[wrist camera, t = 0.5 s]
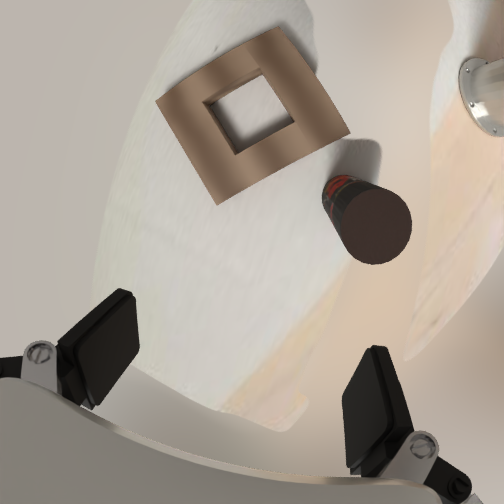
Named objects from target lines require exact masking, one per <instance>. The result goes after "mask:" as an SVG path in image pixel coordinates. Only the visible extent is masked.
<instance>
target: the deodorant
mask: <svg viewBox="0 0 504 504" xmlns="http://www.w3.org/2000/svg"><path fill="white" fill-rule="evenodd" d="M322 203H323V206H324V209H325V211H326V212H327V214H328V216H329V218H330V220H331V222H332V223H333V225H334V227H335V229H336V231H337V233H338V235H339V236H340V238H341V240H342V242H343V244H344V246H345V247H346V249H347V251H348V252H349V253H350V254H351V255H352V256H353V257H354V258H355V259H357V260H359V261H361V262H363V263H367V264H371V265H374V264H382V263H385V262H389V261H391V260H392V259H394V258H395V257H397V256H398V255H399V254H400V253H401V252H402V251H403V249H404V248H405V247H406V245H407V243H408V241H409V239H410V235H411V231H412V220H411V214H410V211H409V209H408V207H407V205H406V203H405V202H404V201H403V200H402V199H401V198H400V197H399V196H398V195H397V194H395V193H393V192H392V191H389V190H387V189H384V188H382V187H379V186H377V185H374V184H371V183H369V182H366V181H363V180H360V179H358V178H355V177H352V176H348V175H340V176H337V177H334V178H333V179H331V180H330V181H329V182H328V183H327V184H326V185H325V187H324V190H323V193H322Z"/></svg>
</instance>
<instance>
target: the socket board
mask: <svg viewBox="0 0 504 504" xmlns="http://www.w3.org/2000/svg"><path fill="white" fill-rule="evenodd" d="M262 74H263V76H264V77H265V78H266V80H267V81H268V83H269V84H270V86H271V87H272V89H273V90H274V92H275V93H276V95H277V96H278V98H279V99H280V101H281V102H282V104H283V106H284V107H285V109H286V110H287V112H288V113H289V115H290V117H291V118H292V120H293V122H294V123H292V124H290V125H288V126H287V127H285V128H283V129H281V130H279V131H277V132H275V133H274V134H272V135H270V136H268V137H266V138H265V139H263V140H261V141H259V142H257V143H256V144H254V145H252V146H251V147H249V148H247V149H245V150H244V151H242V152H240V153H238V152H237V150H236V148H235V147H234V145H233V143H232V142H231V140H230V138H229V137H228V135H227V133H226V132H225V130H224V129H223V127H222V125H221V124H220V122H219V120H218V119H217V117H216V116H215V114H214V112H213V111H212V109H211V108H210V106H209V105H211V104H213V103H214V102H216V101H217V100H219V99H220V98H222V97H224V96H225V95H227V94H229V93H230V92H232V91H234V90H235V89H237V88H239V87H241V86H242V85H244V84H246V83H248V82H249V81H251V80H253V79H255V78H257V77H258V76H260V75H262ZM155 102H156V104H157V105H158V107H159V109H160V110H161V112H162V114H163V116H164V117H165V119H166V121H167V122H168V124H169V126H170V127H171V129H172V131H173V133H174V134H175V136H176V138H177V139H178V141H179V143H180V144H181V146H182V148H183V149H184V151H185V153H186V155H187V156H188V158H189V160H190V161H191V163H192V165H193V166H194V168H195V170H196V171H197V173H198V175H199V176H200V178H201V180H202V182H203V183H204V185H205V187H206V188H207V190H208V192H209V193H210V195H211V197H212V198H213V200H214V202H215V203H216V205H219V204H220V203H222V202H224V201H225V200H227V199H229V198H231V197H232V196H234V195H236V194H237V193H239V192H241V191H243V190H244V189H246V188H248V187H250V186H251V185H253V184H255V183H257V182H258V181H260V180H262V179H264V178H266V177H267V176H269V175H271V174H273V173H275V172H277V171H278V170H280V169H282V168H284V167H286V166H288V165H289V164H291V163H293V162H295V161H297V160H299V159H301V158H303V157H305V156H307V155H308V154H310V153H312V152H314V151H316V150H318V149H320V148H322V147H324V146H326V145H328V144H330V143H332V142H334V141H336V140H338V139H340V138H342V137H344V136H346V135H348V134H350V131H349V129H348V127H347V126H346V124H345V122H344V120H343V119H342V117H341V115H340V114H339V112H338V110H337V109H336V107H335V105H334V103H333V102H332V100H331V99H330V97H329V95H328V94H327V92H326V91H325V89H324V88H323V86H322V85H321V83H320V82H319V80H318V79H317V77H316V76H315V74H314V73H313V71H312V70H311V68H310V67H309V66H308V64H307V63H306V61H305V60H304V59H303V57H302V56H301V55H300V53H299V52H298V50H297V49H296V48H295V47H294V45H293V44H292V43H291V41H290V40H289V39H288V38H287V36H286V35H285V34H284V33H283V31H282V30H281V29H280V28H279V26H278V27H276V28H274V29H272V30H269V31H267V32H265V33H263V34H261V35H259V36H257V37H255V38H253V39H251V40H249V41H247V42H245V43H244V44H242V45H240V46H238V47H236V48H234V49H233V50H231V51H229V52H227V53H226V54H224V55H222V56H220V57H219V58H217V59H215V60H214V61H212V62H211V63H209V64H207V65H206V66H204V67H203V68H201V69H200V70H198V71H197V72H195V73H194V74H192V75H191V76H189V77H188V78H186V79H185V80H183V81H182V82H180V83H179V84H178V85H176V86H175V87H173V88H172V89H171V90H169V91H168V92H167V93H165V94H164V95H163V96H161V97H160V98H159V99H157V100H156V101H155Z"/></svg>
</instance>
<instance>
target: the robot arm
mask: <svg viewBox="0 0 504 504" xmlns="http://www.w3.org/2000/svg"><path fill="white" fill-rule="evenodd" d="M459 86H460V91H461V95H462V99H463V102H464V104H465V106H466V109H467V110H468V112H469V114H470V116H471V117H472V119H473V120H474V122H475V123H476V124H477V125H478V126H479V127H480V128H481V129H482V130H483V131H484V132H485V133H487V134H489V135H491V136H494V137H504V58H502V59H499V60H497V61H494V62H491V63H490V62H488V61H486V60H484V59H481V58H472V59H470V60H468V61H466V62H465V63H464V64H463V66H462V67H461V70H460V75H459ZM139 348H140V344H139V334H138V323H137V311H136V298H135V297H134V296H133V294H132V292H130V291H127V290H124V289H121V288H118V289H117V290H115V291H114V292H113V293H112V294H111V295H110V296H108V297H107V298H106V299H105V300H104V301H102V302H101V303H100V304H99V305H98V306H97V307H95V308H94V309H93V310H92V311H91V312H90V313H88V314H87V315H86V316H85V317H84V318H83V319H82V320H80V321H79V322H78V323H77V324H76V325H75V326H74V327H73V328H71V329H70V330H69V331H68V332H67V333H66V334H65V335H64V336H63V337H61V338H60V339H59V340H58V344H57V345H56V346H54V345H53V344H52V343H51V342H48V341H35V342H33V343H31V344H30V345H28V347H27V348H26V349H25V351H24V354H23V356H16V357H6V358H0V504H483V503H482V501H481V500H480V499H479V498H478V496H477V495H476V494H475V493H474V494H473V495H471V490H472V484H471V480H470V479H469V477H468V476H466V474H464V473H463V472H461V471H459V470H458V469H456V468H455V467H454V466H452V465H451V464H449V463H448V462H446V461H445V460H443V459H442V458H440V457H439V456H438V452H439V445H438V442H437V440H436V439H435V437H433V436H432V435H431V434H430V433H428V432H425V431H415V432H414V428H413V424H412V421H411V417H410V414H409V410H408V407H407V404H406V400H405V397H404V394H403V391H402V388H401V384H400V382H399V380H398V377H397V374H396V371H395V368H394V365H393V363H392V360H391V357H390V354H389V352H388V349H387V347H385V346H377V345H372V346H371V348H367V350H366V351H365V353H364V355H363V357H362V359H361V361H360V363H359V365H358V367H357V369H356V371H355V372H354V374H353V376H352V378H351V380H350V382H349V384H348V385H347V387H346V389H345V391H344V393H343V395H342V409H343V420H344V432H345V449H346V465H347V467H348V468H350V474H351V475H361V477H356V478H355V477H322V476H308V475H296V474H287V473H279V472H272V471H265V470H259V469H253V468H248V467H243V466H238V465H233V464H229V463H224V462H220V461H216V460H212V459H208V458H205V457H201V456H198V455H194V454H191V453H188V452H185V451H182V450H178V449H175V448H172V447H169V446H167V445H164V444H161V443H158V442H156V441H153V440H151V439H148V438H145V437H143V436H140V435H138V434H136V433H133V432H131V431H129V430H126V429H124V428H122V427H120V426H118V425H116V424H113V423H111V422H109V421H107V420H105V419H103V418H101V417H99V416H97V415H95V414H93V413H91V412H89V411H87V410H86V409H84V408H82V407H80V405H83V406H85V407H87V408H88V409H90V410H93V408H94V407H95V405H97V406H98V405H100V404H101V402H102V401H103V400H104V398H105V397H106V395H107V394H108V393H109V391H110V390H111V389H112V387H113V386H114V384H115V383H116V382H117V380H118V379H119V378H120V376H121V375H122V374H123V372H124V371H125V370H126V368H127V367H128V366H129V364H130V363H131V362H132V360H133V359H134V358H135V356H136V355H137V354H138V352H139Z"/></svg>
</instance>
